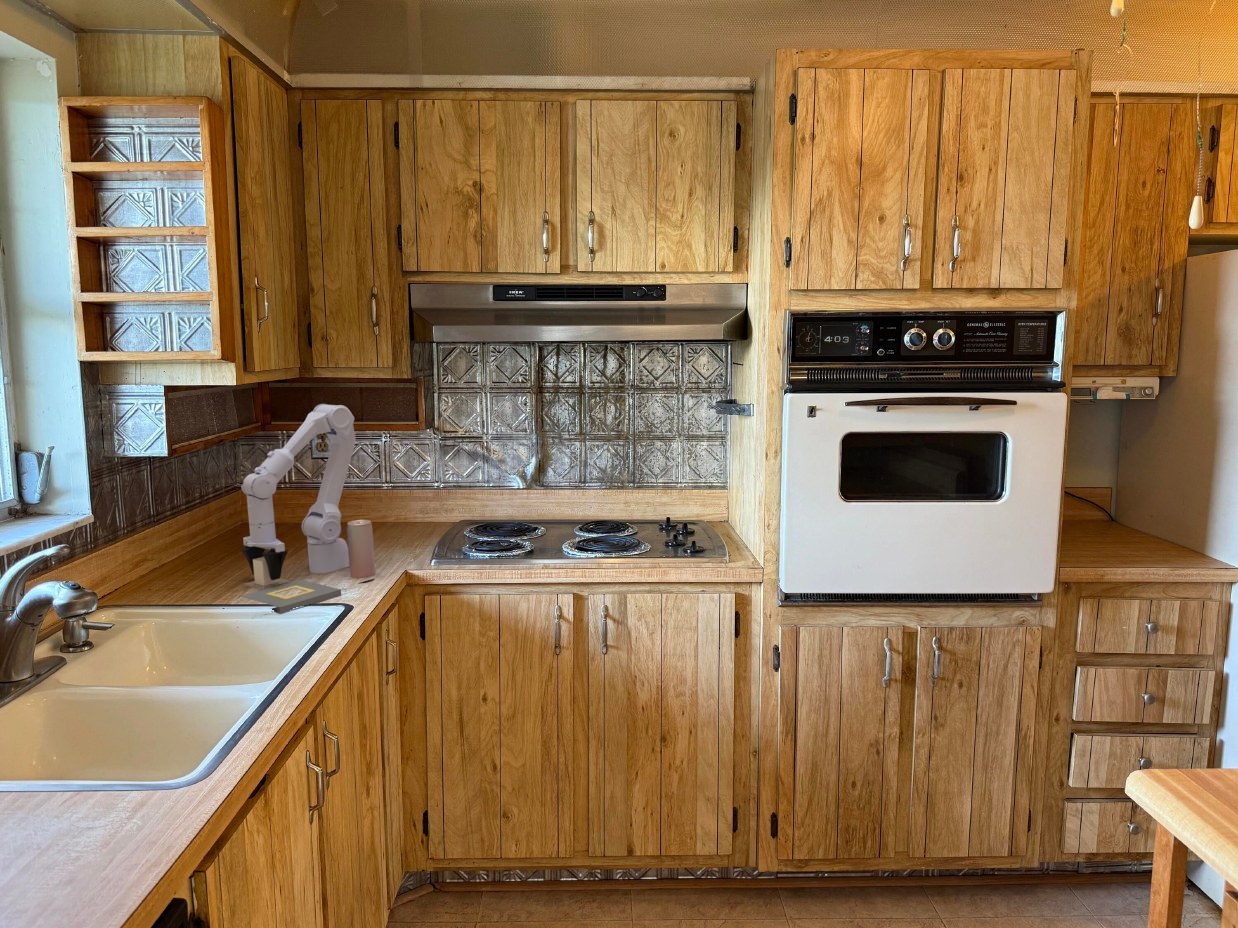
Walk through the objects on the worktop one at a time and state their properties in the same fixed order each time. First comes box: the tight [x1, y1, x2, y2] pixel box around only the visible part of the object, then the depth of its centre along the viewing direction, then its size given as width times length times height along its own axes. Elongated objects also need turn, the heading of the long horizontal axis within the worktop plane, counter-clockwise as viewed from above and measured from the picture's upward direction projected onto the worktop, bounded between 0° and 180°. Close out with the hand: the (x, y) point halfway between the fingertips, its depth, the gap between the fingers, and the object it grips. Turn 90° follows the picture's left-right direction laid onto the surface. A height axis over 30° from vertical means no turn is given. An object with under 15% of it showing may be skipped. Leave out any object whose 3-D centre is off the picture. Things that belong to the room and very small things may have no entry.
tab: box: [243, 577, 291, 590], centre depth 213 cm, size 8×8×2 cm
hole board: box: [240, 579, 342, 615], centre depth 204 cm, size 16×16×2 cm
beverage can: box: [346, 519, 376, 585], centre depth 217 cm, size 6×6×15 cm
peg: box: [253, 556, 279, 586], centre depth 212 cm, size 4×4×6 cm
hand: (266, 576), depth 213 cm, fingers open, 7 cm apart
